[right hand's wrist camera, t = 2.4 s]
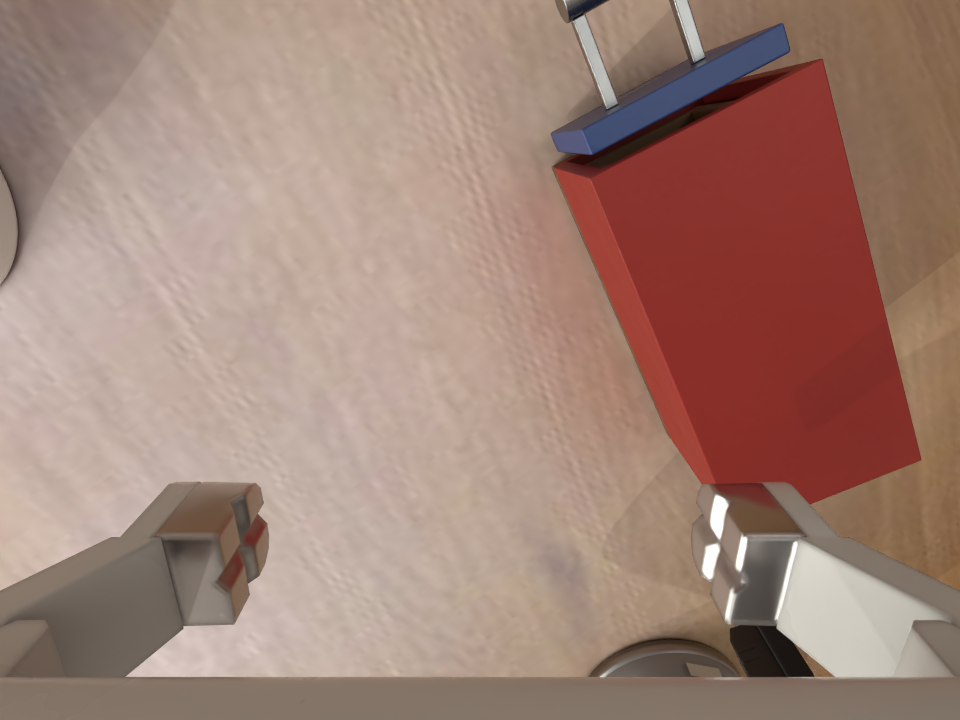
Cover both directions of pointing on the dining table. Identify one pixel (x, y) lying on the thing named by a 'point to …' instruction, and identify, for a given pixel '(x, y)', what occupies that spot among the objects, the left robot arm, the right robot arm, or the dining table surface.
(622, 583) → the dining table surface
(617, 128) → the drawer
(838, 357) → the red drawer cabinet
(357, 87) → the dining table surface
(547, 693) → the right robot arm
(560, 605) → the dining table surface
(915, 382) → the dining table surface
